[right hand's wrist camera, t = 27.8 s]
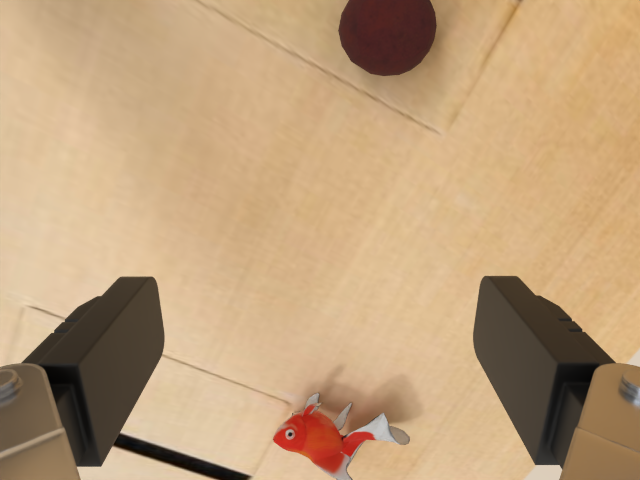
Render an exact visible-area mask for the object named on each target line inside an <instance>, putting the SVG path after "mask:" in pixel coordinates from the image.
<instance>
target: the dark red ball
mask: <svg viewBox="0 0 640 480" xmlns="http://www.w3.org/2000/svg"><path fill="white" fill-rule="evenodd" d="M338 31H339V35H340V40H341V44H342V47H343V48H344V50H345V51H346V53H347V55H348V57H349V58H350V60H351V61H352V62H353V63H355V64H356V65H358V66H359V67H361V68H363V69H364V70H366V71H367V72H369V73H370V74H375V75H381V76H390V75H400V74H402V73H405V72H407V71H410V70H411V69H413V68H414V67H415V66H417V65H418V64H419V63H420V62H421V61H422V60H423V58H424V57H425V56H426V54H427V53H428V52H429V50H430V48H431V45H432V43H433V41H434V38H435V32H436V17H435V12H434V9H433V6H432V4H431V2H430V0H349V2H348V3H347V5H346V7H345V9H344V10H343V12H342V15H341V20H340V25H339V30H338Z"/></svg>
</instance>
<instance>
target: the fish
mask: <svg viewBox="0 0 640 480" xmlns="http://www.w3.org/2000/svg"><path fill="white" fill-rule="evenodd" d="M318 400H319V394H318V393H316V394H314V395H313V396H311V397H310V398H309V399H308V400H307V403H306V407H305V409H304V411H301V412H298V413H296V414H294V415H293V413H292V416H291V417H290V418H289V419H288V420H286V421H285V422H284V423H283V424H282V425H281V426H280V427H279V428H278V429H277V431H276V433H275V435H274V438H273V440H274V442H275V443H276V444H278V445H279V446H280V447H282V448H283V449H285V450H288V451H292V452H297V453H300V454H302V455H304V456H306V457H308V458H309V459H310V460H311V461H312V462H313V463H314V464H315V465H316V466H318V467H319V468H320V469H321V470H323V471H324V472H325V473H327V474H328V475H330V476H331V477H333V478H336V479H337V480H352V478H351V477H350V476H349V475H348V473H347V467H348V466H349V464H350V462H351V460H352V459H353V457H354V455H355V454H356V452H357V450H358V448H359V447H360V446H361V444H362V443H363V442H364V441H365V440H384V441H390V442H395V443H397V444H400V445H406V444H409V441H410V437H409V436H408V435H407V434H406V433H405V432H404V431H403V430H401V429H398V428H395V427H393V426H389V424H388V421H387V419H386V417H385V415H384V413H382V414H381V415H379V416H377V417H376V418H374V419H373V420H372V421H371V422H369V423H368V424H367V425H366V426H364V427H362V428H360V429H358V430H356V431H353V432H351V433H349V434H347V435H345V436H343V435H340V433H339V430H341V429H342V427H343V426H344V424H345V421H346V418H347V415H348V412H349V410H350V407H351V405H352V403H350V404H349V405H348V406H347V407H346V408H345V409H344V410H343V411H342V412H341V413H340V415H339V416H338V417H337V419H336V420H335V421H334V422H332V421H331V420H330V419H329V418H328V417H327V416H325V415H324V414H322V413H321V412H319V411H316V410H317V409H318V406H320V405H321V403H318Z"/></svg>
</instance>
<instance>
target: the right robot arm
mask: <svg viewBox="0 0 640 480" xmlns="http://www.w3.org/2000/svg"><path fill="white" fill-rule="evenodd" d="M473 342H474V349H475V353H476V356H477V358H478V360H479V362H480V364H481V366H482V367H483V369H484V371H485V373H486V375H487V377H488V378H489V380H490V382H491V384H492V386H493V388H494V390H495V391H496V393H497V395H498V397H499V399H500V401H501V402H502V404H503V406H504V408H505V410H506V412H507V414H508V415H509V417H510V419H511V421H512V423H513V425H514V426H515V428H516V430H517V432H518V434H519V436H520V437H521V439H522V441H523V443H524V445H525V447H526V449H527V450H528V452H529V454H530V456H531V458H532V460H533V461H534V463H535V465H560V466H561V468H562V473H561V476H560V479H559V480H640V367H637V366H634V365H629V364H621V363H616V362H615V361H614V360H613V359H612V358H611V357H610V356H609V355H608V354H607V353H606V352H605V351H604V350H603V349H602V348H601V347H600V346H599V345H598V344H597V343H595V342H594V341H593V340H592V339H591V338H590V337H589V336H588V335H587V334H586V333H585V332H582V329H581V328H580V327H579V326H578V325H577V324H576V323H575V322H574V321H572V319H571V318H570V317H569V316H568V315H567V314H566V313H565V312H564V311H563V310H562V309H561V308H560V307H559V306H558V305H556V304H554V303H552V302H550V301H549V300H547V299H545V298H543V297H541V296H536V295H535V294H534V293H533V292H532V291H531V290H530V289H529V288H528V287H527V286H526V285H525V284H524V283H523V282H522V281H521V280H520V278H518V277H517V276H484V277H483V279H482V281H481V284H480V289H479V296H478V303H477V310H476V317H475V324H474V332H473ZM163 348H164V327H163V320H162V313H161V307H160V300H159V293H158V286H157V282H156V280H155V278H153V277H120V278H118V279H117V280H116V282H115V283H114V284H113V285H112V286H111V287H110V288H109V289H108V290H107V291H106V292H105V293H104V294H103V295H102V296H97V297H95V298H93V299H92V300H90V301H88V302H86V303H84V304H83V305H81V306H79V307H77V308H76V309H75V310H74V311H73V312H72V313H71V314H70V315H69V316H68V317H67V318H66V319H65V322H62V323H61V324H60V325H59V326H58V327H57V328H56V329H55V330H54V333H51V334H50V335H49V336H48V337H47V338H46V339H45V340H44V341H43V342H42V343H41V344H40V345H39V346H38V347H37V348H36V349H35V350H34V351H33V352H32V353H31V354H30V355H29V356H28V357H27V358H26V359H25V360H24V361H23V362H22V363H19V364H11V365H6V366H2V367H0V480H81V479H80V476H79V473H78V470H77V467H101V466H102V464H103V462H104V460H105V459H106V457H107V455H108V453H109V451H110V449H111V448H112V446H113V444H114V442H115V440H116V438H117V437H118V435H119V433H120V431H121V429H122V428H123V426H124V424H125V422H126V420H127V418H128V417H129V415H130V413H131V411H132V409H133V408H134V406H135V404H136V402H137V400H138V398H139V397H140V395H141V393H142V391H143V389H144V387H145V386H146V384H147V382H148V380H149V378H150V377H151V375H152V373H153V371H154V369H155V367H156V366H157V364H158V362H159V360H160V358H161V356H162V353H163Z"/></svg>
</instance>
